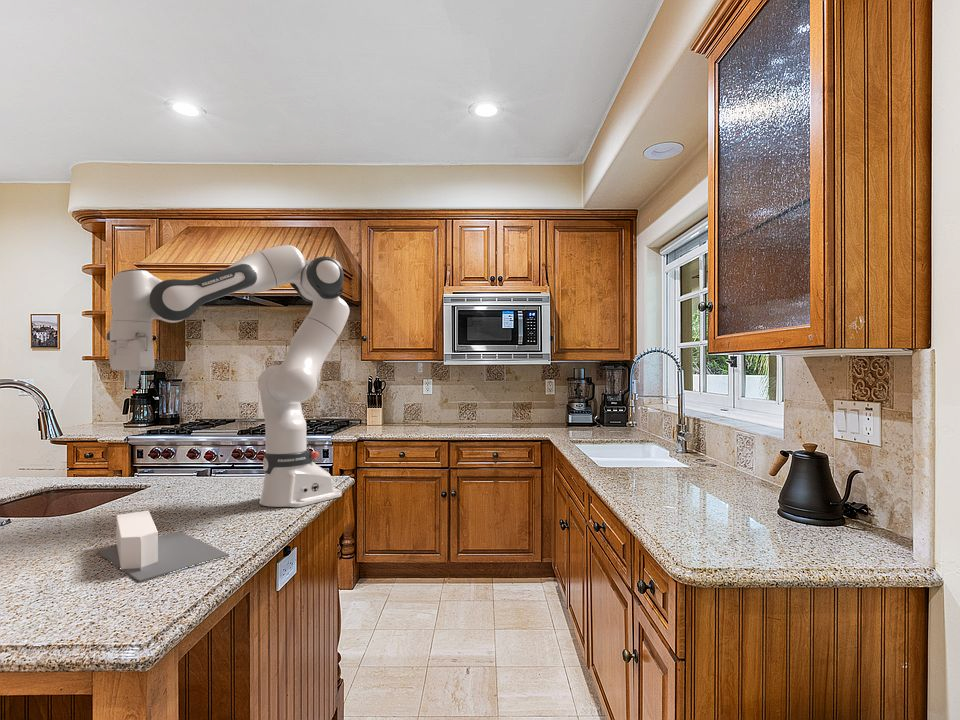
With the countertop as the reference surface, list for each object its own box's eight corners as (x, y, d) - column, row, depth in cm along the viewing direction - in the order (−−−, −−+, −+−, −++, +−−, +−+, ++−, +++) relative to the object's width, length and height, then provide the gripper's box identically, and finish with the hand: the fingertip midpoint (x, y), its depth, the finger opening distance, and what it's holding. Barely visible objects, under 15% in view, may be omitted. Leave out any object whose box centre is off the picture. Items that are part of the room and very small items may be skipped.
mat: (96, 552, 107) (96, 550, 107) (179, 532, 119) (179, 531, 119) (139, 582, 92) (139, 580, 92) (229, 556, 105) (229, 554, 105)
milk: (116, 542, 112) (120, 575, 94) (116, 514, 112) (120, 542, 95) (149, 536, 116) (159, 567, 98) (149, 509, 116) (159, 535, 98)
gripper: (162, 332, 126) (162, 389, 126) (131, 336, 139) (131, 387, 139) (132, 331, 121) (132, 390, 121) (103, 335, 134) (103, 388, 134)
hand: (131, 388), depth 130 cm, fingers closed
